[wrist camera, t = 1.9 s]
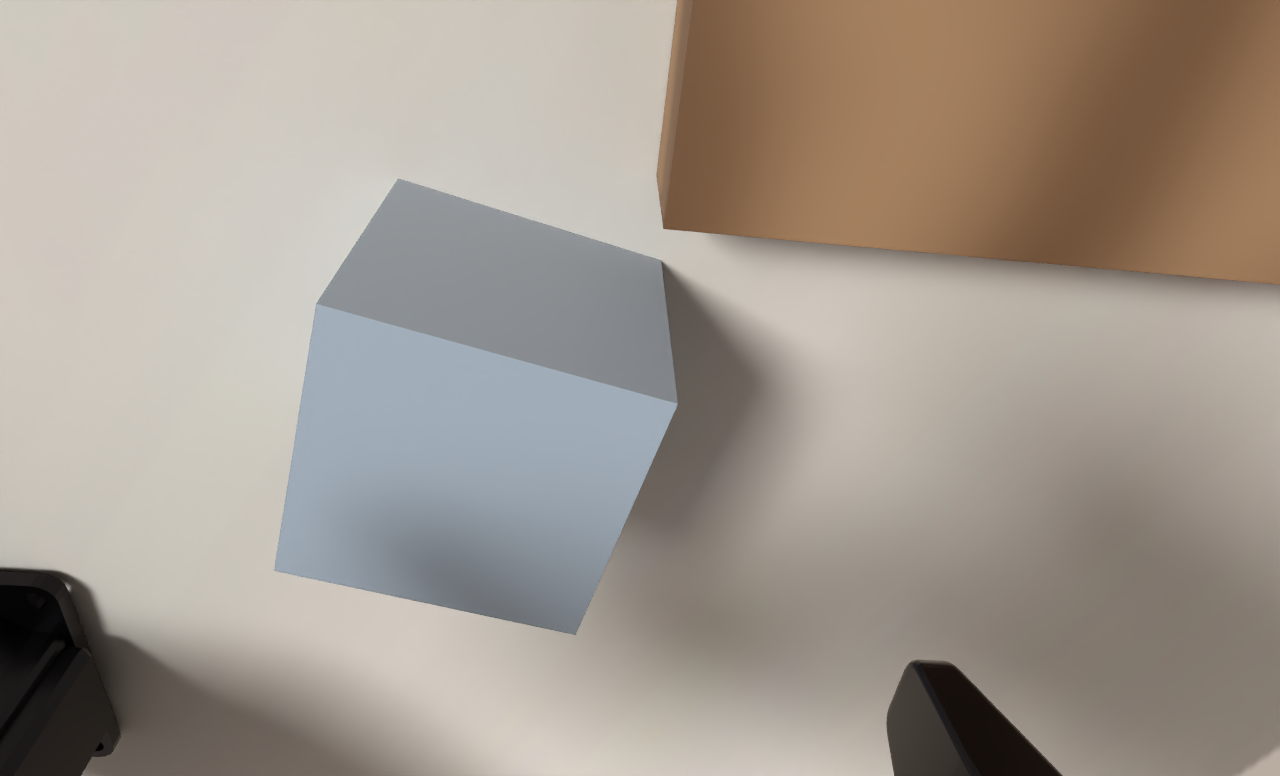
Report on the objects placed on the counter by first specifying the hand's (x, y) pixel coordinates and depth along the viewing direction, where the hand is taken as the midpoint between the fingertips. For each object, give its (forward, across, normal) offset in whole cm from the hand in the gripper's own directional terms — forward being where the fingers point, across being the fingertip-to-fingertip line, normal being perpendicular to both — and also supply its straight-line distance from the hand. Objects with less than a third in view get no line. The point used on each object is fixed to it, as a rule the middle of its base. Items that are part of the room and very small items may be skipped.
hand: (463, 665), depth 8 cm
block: (+9, +1, +1) cm, 9 cm away
